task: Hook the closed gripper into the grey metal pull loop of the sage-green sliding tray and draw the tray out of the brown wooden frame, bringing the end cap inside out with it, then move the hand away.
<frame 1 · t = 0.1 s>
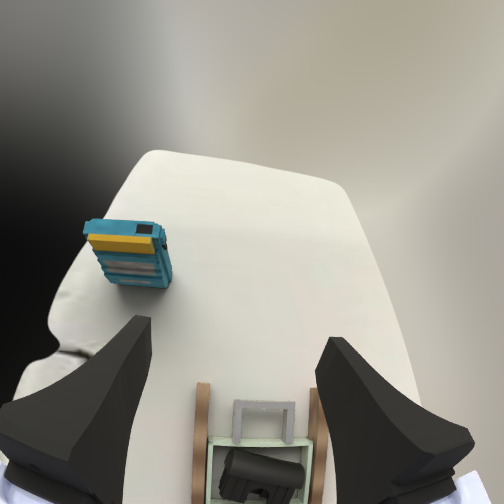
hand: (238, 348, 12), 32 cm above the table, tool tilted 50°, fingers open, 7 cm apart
pull tray: (259, 457, 34), point 2 cm above the table, slide at 0.0 cm
end cap: (255, 471, 35), resting in pull tray
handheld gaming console: (143, 278, 44), on the table
brown wooden frame: (256, 460, 36), on the table
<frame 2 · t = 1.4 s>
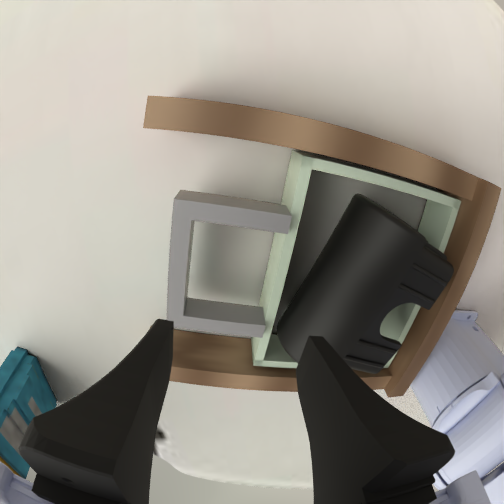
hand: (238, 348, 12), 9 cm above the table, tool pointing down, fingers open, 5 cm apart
pull tray: (312, 274, 19), point 2 cm above the table, slide at 0.0 cm
end cap: (343, 263, 21), resting in pull tray
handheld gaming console: (38, 376, 25), on the table
brown wooden frame: (319, 261, 21), on the table
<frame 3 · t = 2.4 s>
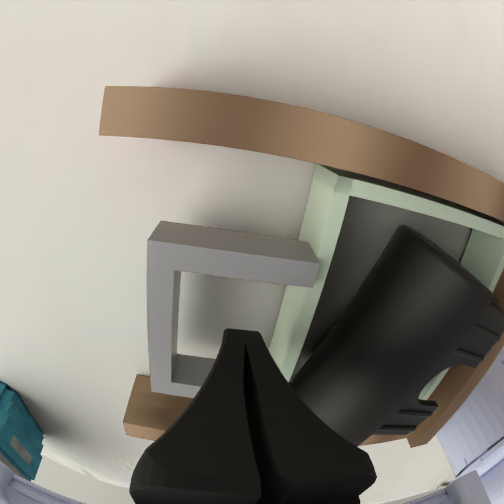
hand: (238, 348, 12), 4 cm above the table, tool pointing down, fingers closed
pull tray: (337, 327, 14), point 2 cm above the table, slide at 0.0 cm
end cap: (372, 304, 17), resting in pull tray
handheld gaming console: (22, 409, 21), on the table
brown wooden frame: (343, 305, 16), on the table
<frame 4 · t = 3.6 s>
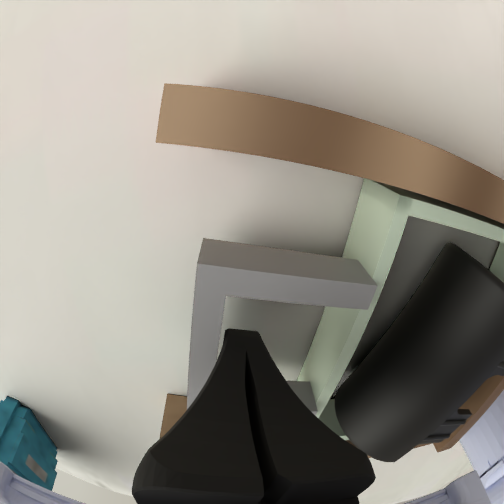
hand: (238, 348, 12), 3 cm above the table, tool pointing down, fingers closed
pull tray: (378, 342, 13), point 2 cm above the table, slide at 0.4 cm, touching gripper
end cap: (409, 317, 16), resting in pull tray
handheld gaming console: (35, 425, 20), on the table
brown wooden frame: (385, 319, 15), on the table
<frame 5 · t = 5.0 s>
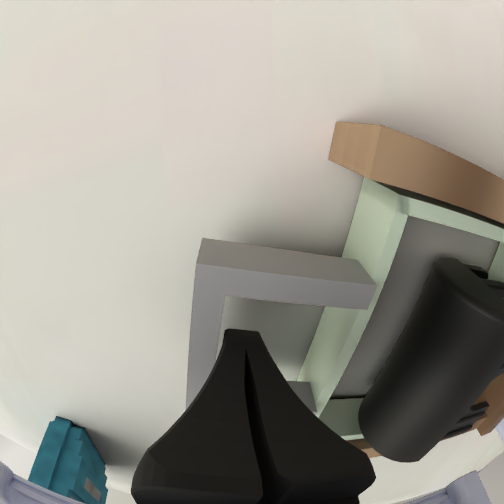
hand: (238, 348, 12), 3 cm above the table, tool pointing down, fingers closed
pull tray: (377, 343, 13), point 2 cm above the table, slide at 6.3 cm, touching gripper
end cap: (418, 325, 16), resting in pull tray
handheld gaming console: (84, 443, 21), on the table
brown wooden frame: (454, 321, 16), on the table
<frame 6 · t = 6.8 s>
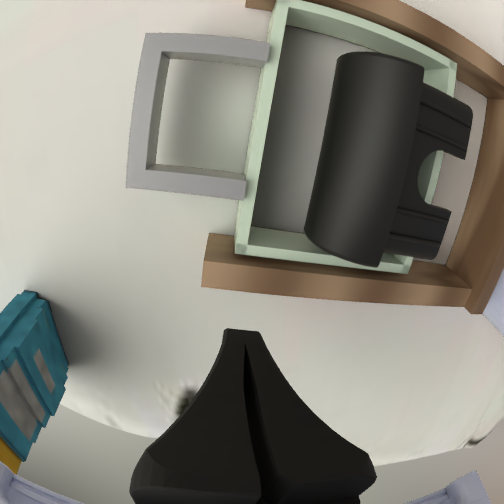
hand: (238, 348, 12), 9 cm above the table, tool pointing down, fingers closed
pull tray: (302, 129, 15), point 2 cm above the table, slide at 6.3 cm
end cap: (357, 151, 18), resting in pull tray
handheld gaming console: (48, 331, 23), on the table
brown wooden frame: (398, 154, 18), on the table
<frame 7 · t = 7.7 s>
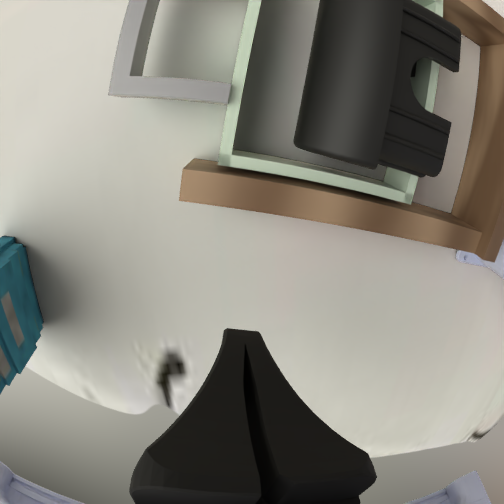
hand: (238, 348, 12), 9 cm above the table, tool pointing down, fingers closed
pull tray: (290, 46, 13), point 2 cm above the table, slide at 6.3 cm
end cap: (350, 80, 16), resting in pull tray
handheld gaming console: (24, 283, 21), on the table
brown wooden frame: (392, 86, 16), on the table
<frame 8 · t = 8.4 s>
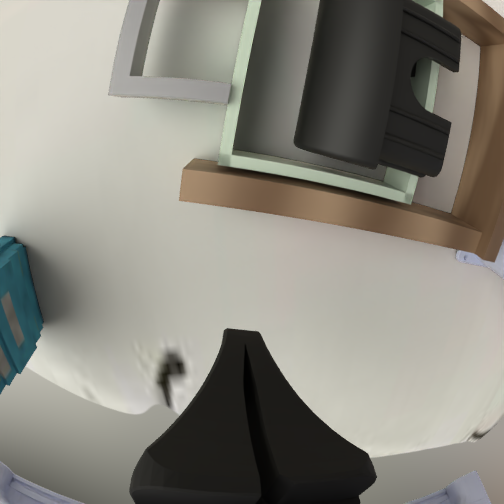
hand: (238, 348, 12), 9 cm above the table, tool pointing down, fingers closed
pull tray: (290, 46, 13), point 2 cm above the table, slide at 6.3 cm
end cap: (350, 80, 16), resting in pull tray
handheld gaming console: (24, 283, 21), on the table
brown wooden frame: (392, 86, 16), on the table
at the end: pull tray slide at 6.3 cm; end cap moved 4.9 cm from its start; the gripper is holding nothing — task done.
